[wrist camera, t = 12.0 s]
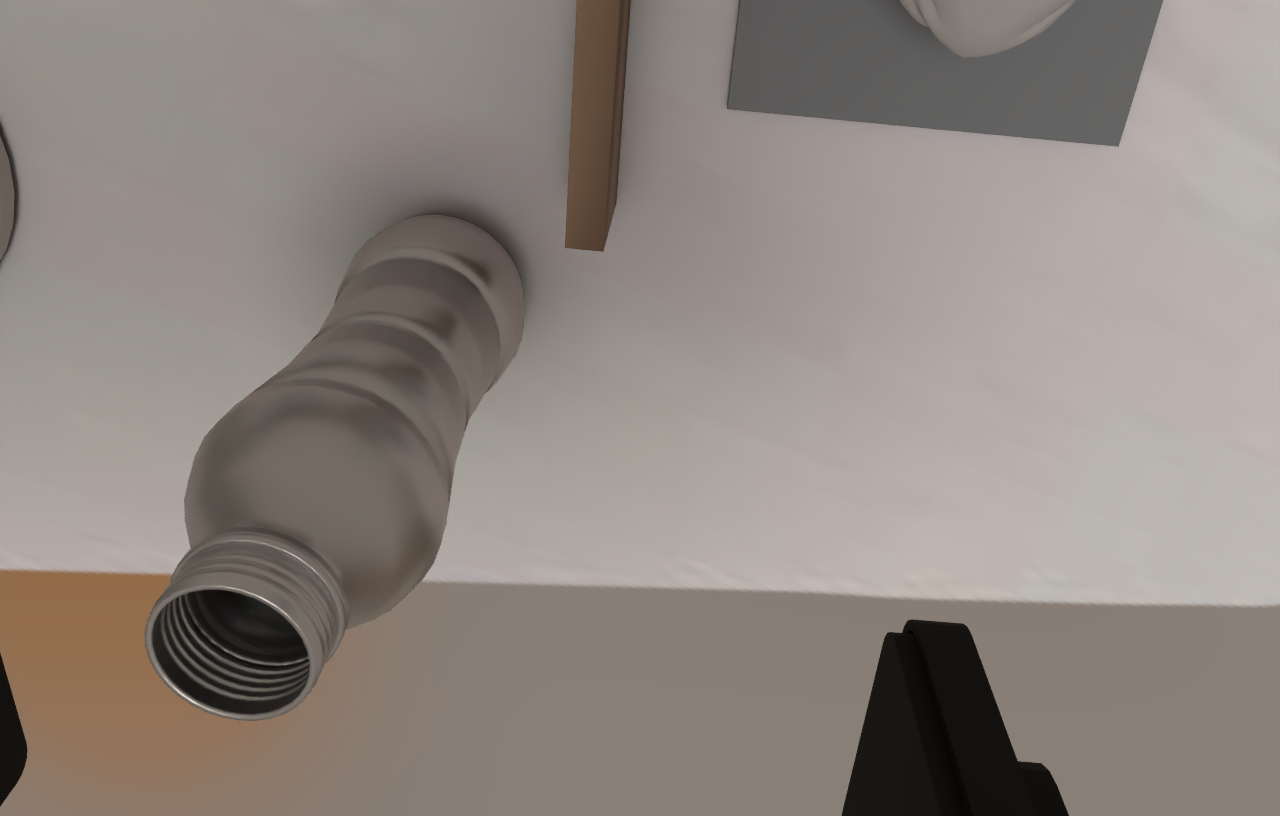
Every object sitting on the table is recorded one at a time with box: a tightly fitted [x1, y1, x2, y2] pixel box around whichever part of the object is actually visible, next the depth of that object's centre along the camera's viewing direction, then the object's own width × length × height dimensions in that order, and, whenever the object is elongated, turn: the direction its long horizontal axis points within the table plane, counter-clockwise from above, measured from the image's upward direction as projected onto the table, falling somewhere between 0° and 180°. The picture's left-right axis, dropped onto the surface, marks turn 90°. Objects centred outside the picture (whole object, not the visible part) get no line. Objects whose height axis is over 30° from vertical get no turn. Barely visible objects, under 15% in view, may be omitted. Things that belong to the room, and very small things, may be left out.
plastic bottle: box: [145, 215, 524, 721], centre depth 30 cm, size 6×7×20 cm
